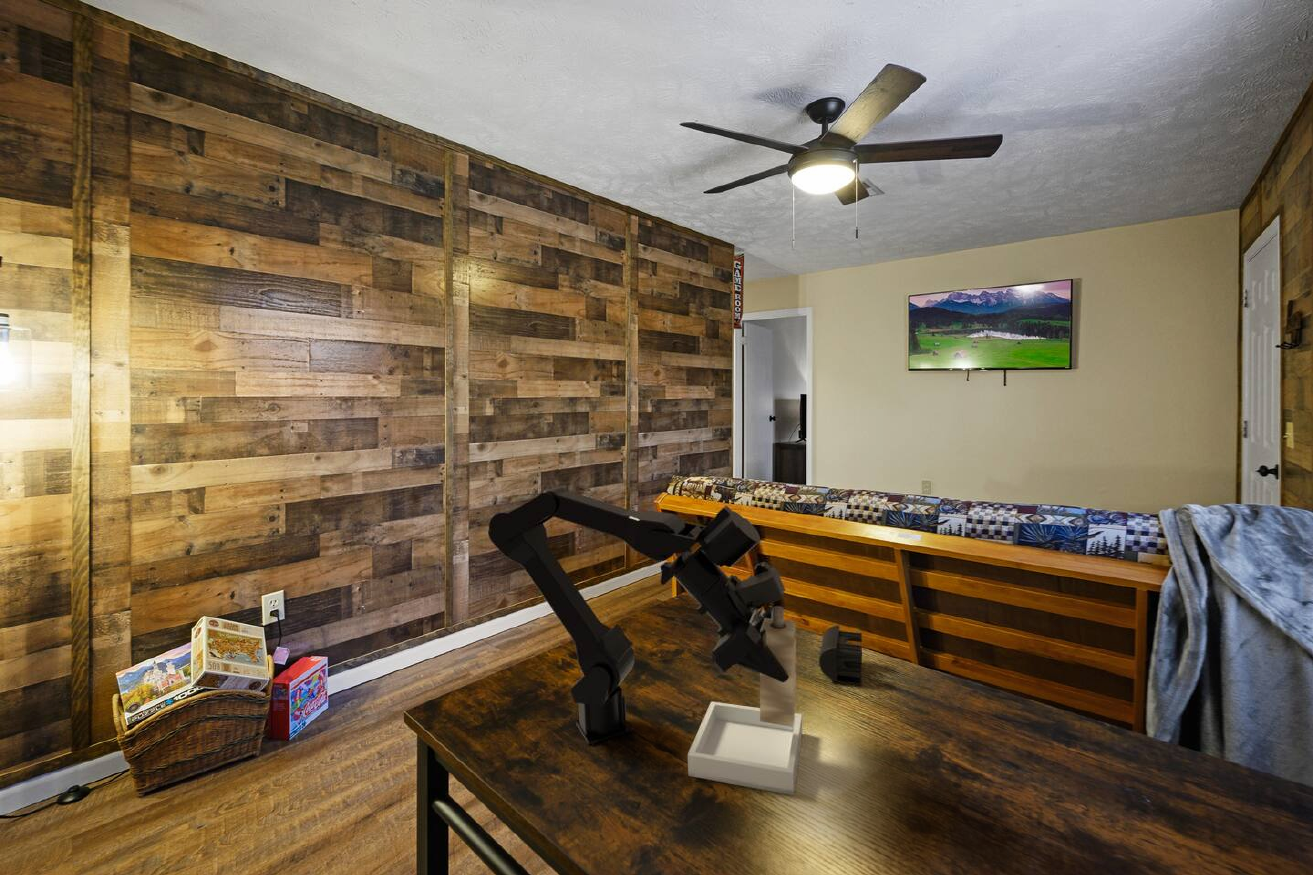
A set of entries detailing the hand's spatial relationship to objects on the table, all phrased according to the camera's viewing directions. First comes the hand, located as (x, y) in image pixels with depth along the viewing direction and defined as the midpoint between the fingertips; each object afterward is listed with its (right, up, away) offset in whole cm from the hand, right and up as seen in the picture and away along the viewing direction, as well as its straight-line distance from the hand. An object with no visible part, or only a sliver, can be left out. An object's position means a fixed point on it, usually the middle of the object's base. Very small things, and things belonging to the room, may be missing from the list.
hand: (788, 671), depth 79 cm
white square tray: (-5, -13, +3) cm, 14 cm away
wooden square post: (-1, -7, +1) cm, 7 cm away
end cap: (+16, -11, +26) cm, 32 cm away
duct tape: (-2, -11, +39) cm, 41 cm away
